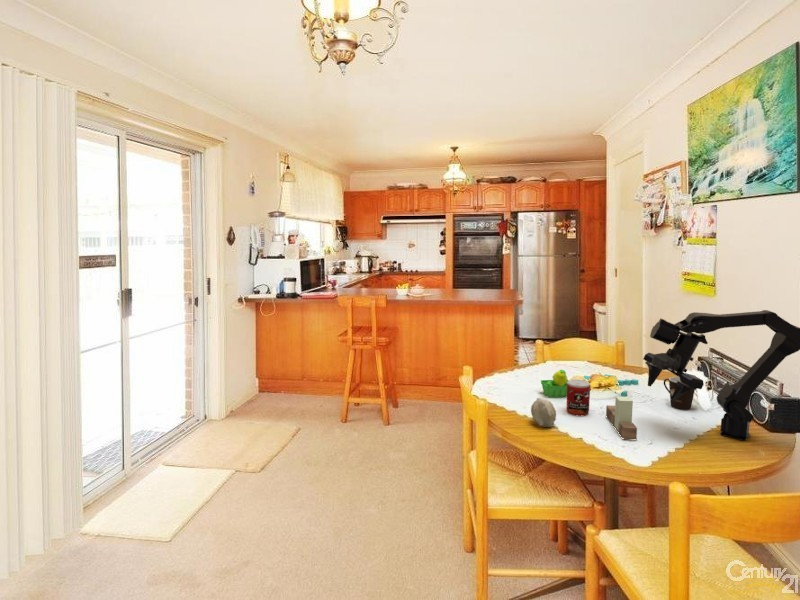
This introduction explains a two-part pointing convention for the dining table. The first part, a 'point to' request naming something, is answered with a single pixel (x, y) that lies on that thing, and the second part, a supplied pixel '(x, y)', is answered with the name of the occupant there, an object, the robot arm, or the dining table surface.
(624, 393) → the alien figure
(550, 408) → the grey faceted lump
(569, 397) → the canned food
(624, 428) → the rail
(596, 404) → the dining table surface
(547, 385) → the fruit basket
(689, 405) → the coffee mug
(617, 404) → the post
